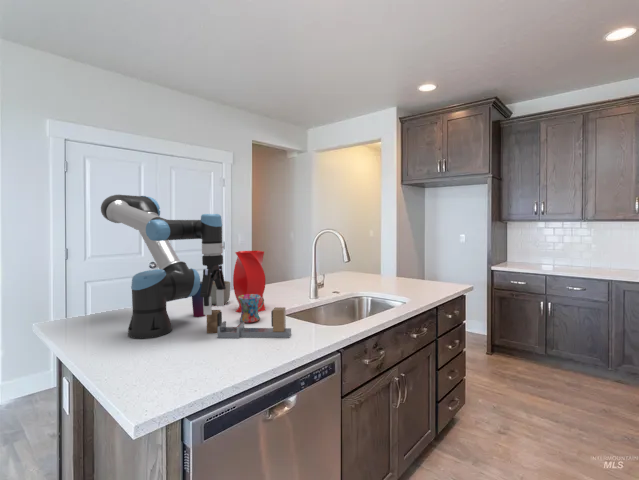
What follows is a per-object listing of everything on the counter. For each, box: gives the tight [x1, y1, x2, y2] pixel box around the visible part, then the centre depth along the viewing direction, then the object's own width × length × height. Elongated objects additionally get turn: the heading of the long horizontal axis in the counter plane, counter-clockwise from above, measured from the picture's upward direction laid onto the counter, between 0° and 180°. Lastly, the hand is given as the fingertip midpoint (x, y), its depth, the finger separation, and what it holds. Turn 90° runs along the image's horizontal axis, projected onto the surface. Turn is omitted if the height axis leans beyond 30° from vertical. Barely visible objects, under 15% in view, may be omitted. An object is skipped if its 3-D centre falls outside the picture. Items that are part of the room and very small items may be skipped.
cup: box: [191, 280, 206, 318], centre depth 159 cm, size 7×7×15 cm
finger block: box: [206, 309, 223, 334], centre depth 135 cm, size 5×4×8 cm
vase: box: [232, 250, 266, 313], centre depth 169 cm, size 15×14×28 cm
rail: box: [216, 306, 292, 339], centre depth 130 cm, size 26×7×10 cm, turn 87°
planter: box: [210, 280, 231, 306], centre depth 183 cm, size 12×12×11 cm
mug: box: [238, 294, 265, 324], centre depth 151 cm, size 12×9×11 cm
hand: (214, 310), depth 135 cm, fingers open, 13 cm apart
